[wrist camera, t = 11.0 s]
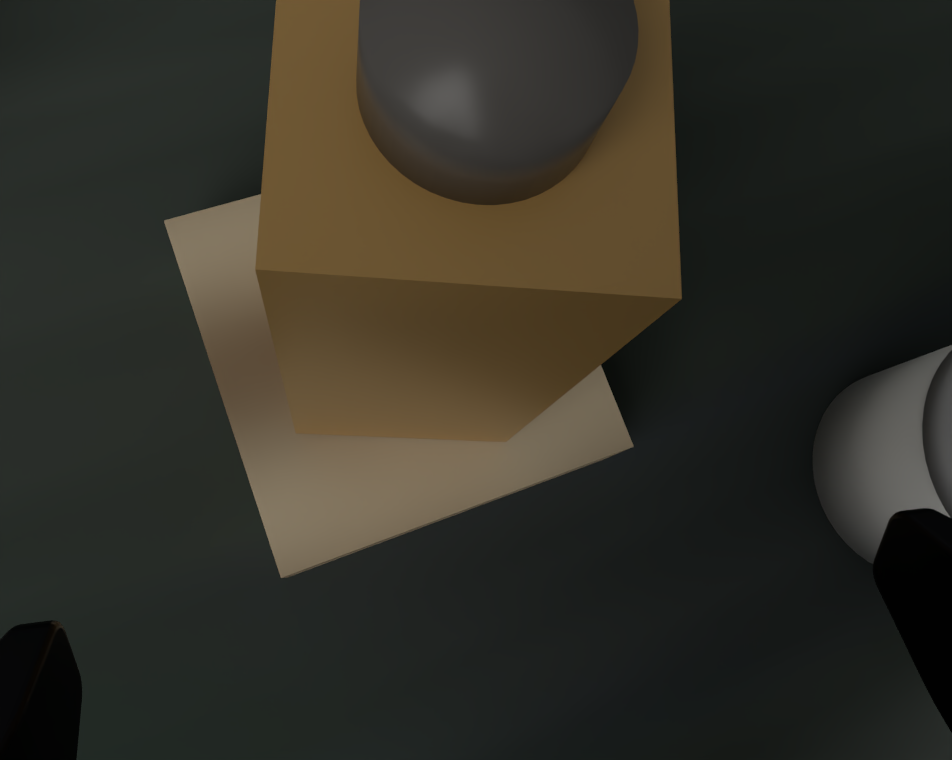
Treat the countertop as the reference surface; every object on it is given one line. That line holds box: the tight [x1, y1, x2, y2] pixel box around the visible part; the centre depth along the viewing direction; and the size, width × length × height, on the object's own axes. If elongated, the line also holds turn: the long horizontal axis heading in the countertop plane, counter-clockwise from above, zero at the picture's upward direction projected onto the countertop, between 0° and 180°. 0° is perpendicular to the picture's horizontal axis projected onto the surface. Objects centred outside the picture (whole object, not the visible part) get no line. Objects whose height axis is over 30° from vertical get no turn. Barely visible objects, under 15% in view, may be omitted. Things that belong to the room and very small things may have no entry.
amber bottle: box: [255, 0, 682, 442], centre depth 15 cm, size 5×5×12 cm
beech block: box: [164, 194, 634, 578], centre depth 23 cm, size 9×9×3 cm
